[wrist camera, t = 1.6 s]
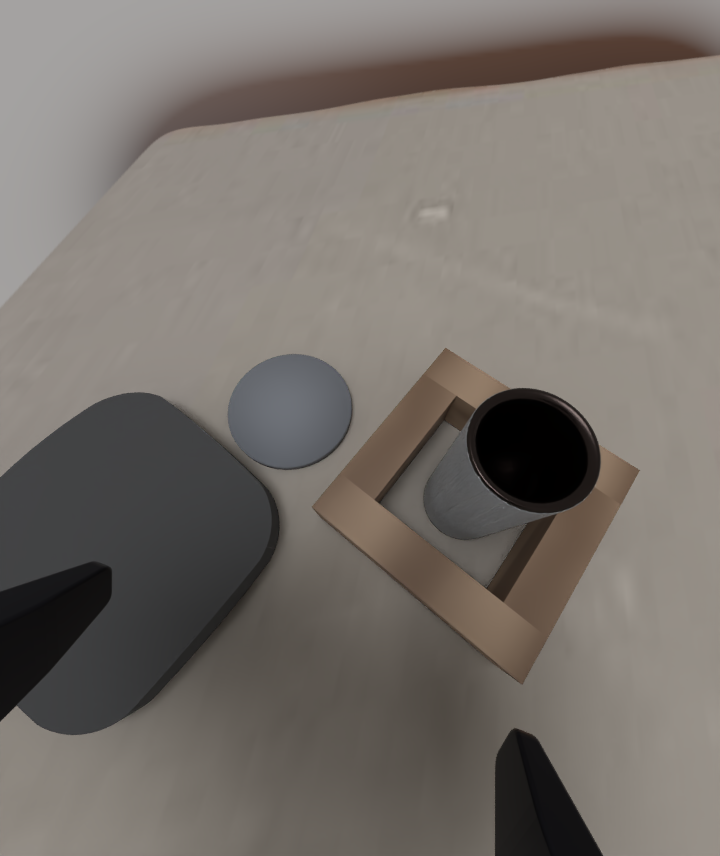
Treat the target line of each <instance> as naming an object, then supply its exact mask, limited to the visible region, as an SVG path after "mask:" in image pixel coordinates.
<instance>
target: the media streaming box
mask: <svg viewBox="0 0 720 856" xmlns="http://www.w3.org/2000/svg"><path fill="white" fill-rule="evenodd" d="M278 534H279V516H278V510H277V507H276V504H275V501H274V499H273V497H272V495H271V493H270V492H269V490H268V489H267V488H266V487H265V486H264V485H263V484H262V483H261V482H260V481H259V480H258V479H257V478H256V477H255V476H254V475H253V474H252V473H251V472H250V471H248V470H247V469H246V468H245V467H244V466H243V465H242V464H241V463H240V462H239V461H238V460H237V459H236V458H235V457H233V456H232V455H231V454H230V453H229V452H228V451H227V450H226V449H224V448H223V447H222V446H221V445H220V444H219V443H218V442H216V441H215V440H214V439H213V438H212V437H211V436H209V435H208V434H207V433H206V432H205V431H204V430H203V429H201V428H200V427H199V426H198V425H197V424H195V423H194V422H193V421H192V420H191V419H189V418H188V417H187V416H186V415H184V414H183V413H182V412H181V411H179V410H178V409H177V408H175V407H174V406H173V405H172V404H170V403H169V402H168V401H166V400H165V399H163V398H162V397H160V396H157V395H154V394H150V393H126V394H121V395H117V396H113V397H110V398H107V399H104V400H102V401H100V402H98V403H95V404H94V405H92V406H90V407H89V408H87V409H86V410H84V411H83V412H81V413H80V414H78V415H77V416H75V417H74V418H72V419H71V420H70V421H68V422H67V423H65V424H64V425H62V426H61V427H60V428H58V429H57V430H56V431H54V432H53V433H52V434H50V435H49V436H48V437H46V438H45V439H44V440H43V441H41V442H40V443H39V444H38V445H36V446H35V447H34V448H33V449H32V450H30V451H29V452H28V453H27V454H26V455H24V456H23V457H22V458H21V459H20V460H19V461H18V462H17V463H15V464H14V465H13V466H12V467H11V468H10V469H9V470H8V471H7V472H6V473H5V474H3V475H2V476H1V477H0V591H3V590H6V589H9V588H12V587H15V586H18V585H21V584H24V583H27V582H30V581H33V580H36V579H39V578H42V577H45V576H48V575H51V574H54V573H57V572H61V571H64V570H67V569H70V568H73V567H76V566H79V565H82V564H85V563H88V562H92V561H96V562H100V563H102V564H105V565H107V566H109V567H111V569H112V595H111V598H110V601H109V602H108V604H107V605H106V607H105V608H104V609H103V610H102V611H101V612H100V614H99V615H98V616H97V617H96V618H95V619H94V621H93V622H92V623H91V624H90V625H89V627H88V628H87V629H86V630H85V631H84V632H83V634H82V635H81V636H80V637H79V638H78V639H77V641H76V642H75V643H74V644H73V645H72V646H71V648H70V649H69V650H68V651H67V652H66V653H65V655H64V656H63V657H62V658H61V659H60V661H59V662H58V663H57V664H56V665H55V666H54V667H53V668H52V669H51V671H50V672H49V673H48V674H47V675H46V676H45V677H44V678H43V679H42V680H41V681H40V682H39V683H38V684H37V685H36V686H35V687H34V688H33V689H32V690H31V691H30V692H29V693H28V694H27V695H26V696H25V697H24V698H23V699H22V700H21V701H20V702H19V703H18V704H17V706H18V707H19V708H20V709H21V710H22V711H23V712H24V713H25V714H26V715H27V716H28V717H29V718H30V719H32V720H33V721H34V722H35V723H36V724H37V725H39V726H41V727H42V728H44V729H47V730H49V731H52V732H56V733H60V734H67V735H80V734H87V733H92V732H96V731H99V730H102V729H104V728H107V727H109V726H111V725H113V724H115V723H116V722H118V721H120V720H121V719H123V718H124V717H126V716H128V715H129V714H131V713H133V712H134V711H136V710H138V709H139V708H141V707H143V706H144V705H146V704H147V703H148V702H149V701H151V700H152V699H153V698H154V697H155V696H156V695H157V694H158V693H159V691H160V690H161V689H162V688H163V687H164V686H165V685H166V684H167V683H168V682H169V681H170V680H171V679H172V678H173V676H174V675H175V674H176V673H177V672H178V671H179V670H180V669H181V668H182V667H183V665H184V664H185V663H186V662H187V661H188V660H189V659H190V658H191V656H192V655H193V654H194V653H195V652H196V651H197V650H198V649H199V647H200V646H201V645H202V644H203V643H204V642H205V640H206V639H207V638H208V637H209V636H210V635H211V633H212V632H213V631H214V630H215V629H216V628H217V626H218V625H219V624H220V623H221V622H222V620H223V619H224V618H225V617H226V616H227V614H228V613H229V612H230V611H231V610H232V608H233V607H234V606H235V605H236V603H237V602H238V601H239V600H240V598H241V597H242V596H243V595H244V593H245V592H246V591H247V590H248V588H249V587H250V586H251V584H252V583H253V582H254V581H255V579H256V578H257V577H258V575H259V574H260V573H261V571H262V570H263V569H264V567H265V566H266V565H267V563H268V562H269V561H270V559H271V557H272V555H273V552H274V550H275V547H276V544H277V540H278Z"/></svg>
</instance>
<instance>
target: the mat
mask: <svg viewBox="0 0 720 856" xmlns="http://www.w3.org/2000/svg"><path fill="white" fill-rule="evenodd" d="M351 414H352V405H351V397H350V393H349V390H348V387H347V385H346V383H345V381H344V379H343V378H342V377H341V375H340V374H339V373H338V372H337V371H336V370H335V369H334V368H333V367H332V366H330V365H329V364H327V363H326V362H324V361H322V360H320V359H318V358H314V357H311V356H307V355H299V354H289V355H282V356H277V357H274V358H271V359H268V360H266V361H264V362H262V363H260V364H258V365H257V366H255V367H254V368H252V369H251V370H250V371H249V372H248V373H246V374H245V376H244V377H243V378H242V379H241V380H240V381H239V383H238V384H237V386H236V387H235V389H234V391H233V393H232V396H231V398H230V402H229V407H228V423H229V428H230V431H231V434H232V436H233V438H234V440H235V442H236V443H237V444H238V446H239V447H240V448H241V449H242V450H243V451H244V452H245V453H246V454H247V455H248V456H249V457H250V458H252V459H253V460H254V461H256V462H258V463H260V464H262V465H265V466H267V467H271V468H275V469H284V470H288V469H298V468H303V467H307V466H310V465H312V464H315V463H317V462H319V461H321V460H322V459H324V458H325V457H327V456H328V455H329V454H331V453H332V452H333V451H334V450H335V449H336V448H337V447H338V445H339V444H340V443H341V441H342V440H343V438H344V437H345V435H346V433H347V431H348V428H349V425H350V421H351Z"/></svg>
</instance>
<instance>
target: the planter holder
mask: <svg viewBox="0 0 720 856" xmlns="http://www.w3.org/2000/svg"><path fill="white" fill-rule="evenodd" d="M509 389H510V388H508V387H507V386H505V385H504V384H502V383H500V382H499V381H497V380H496V379H494V378H492V377H491V376H489V375H488V374H486V373H485V372H483V371H481V370H480V369H478V368H477V367H475V366H473V365H472V364H470V363H469V362H467V361H466V360H464V359H462V358H461V357H459V356H458V355H456V354H454V353H453V352H451V351H450V350H448V349H447V348H445V349H444V350H443V352H442V353H441V354H440V355H439V356H438V357H437V359H436V360H435V361H434V362H433V363H432V365H431V366H430V367H429V368H428V369H427V371H426V372H425V373H424V374H423V375H422V377H421V378H420V379H419V380H418V381H417V382H416V384H415V385H414V386H413V387H412V388H411V390H410V391H409V392H408V393H407V394H406V396H405V397H404V398H403V399H402V400H401V401H400V403H399V404H398V405H397V406H396V407H395V409H394V410H393V411H392V412H391V413H390V415H389V416H388V417H387V418H386V419H385V420H384V422H383V423H382V424H381V425H380V426H379V428H378V429H377V430H376V431H375V432H374V434H373V435H372V436H371V437H370V438H369V439H368V441H367V442H366V443H365V444H364V445H363V447H362V448H361V449H360V450H359V451H358V453H357V454H356V455H355V456H354V457H353V458H352V460H351V461H350V462H349V463H348V464H347V466H346V467H345V468H344V469H343V470H342V472H341V473H340V474H339V475H338V476H337V478H336V479H335V480H334V481H333V482H332V483H331V485H330V486H329V487H328V488H327V489H326V491H325V492H324V493H323V494H322V495H321V497H320V498H319V499H318V500H317V501H316V502H315V504H314V505H313V506H312V508H313V509H314V510H315V511H316V513H317V514H318V515H319V516H320V517H321V518H322V519H323V520H325V521H326V522H327V523H328V524H329V525H330V526H332V527H333V528H334V529H335V530H336V531H338V532H339V533H340V534H341V535H342V536H343V537H345V538H346V539H347V540H348V541H349V542H350V543H352V544H353V545H354V546H355V547H356V548H358V549H359V550H360V551H361V552H362V553H363V554H365V555H366V556H367V557H368V558H369V559H371V560H372V561H373V562H374V563H375V564H376V565H378V566H379V567H380V568H381V569H382V570H384V571H385V572H386V573H387V574H388V575H389V576H391V577H392V578H393V579H394V580H395V581H397V582H398V583H399V584H400V585H401V586H402V587H404V588H405V589H406V590H407V591H408V592H410V593H411V594H412V595H413V596H414V597H415V598H417V599H418V600H419V601H420V602H421V603H423V604H424V605H425V606H426V607H427V608H428V609H430V610H431V611H432V612H433V613H434V614H436V615H437V616H438V617H439V618H440V619H441V620H443V621H444V622H445V623H446V624H447V625H449V626H450V627H451V628H452V629H453V630H454V631H456V632H457V633H458V634H459V635H460V636H461V637H463V638H464V639H465V640H466V641H467V642H469V643H470V644H471V645H472V646H473V647H474V648H476V649H477V650H478V651H479V652H480V653H482V654H483V655H484V656H485V657H486V658H487V659H489V660H490V661H491V662H492V663H493V664H495V665H496V666H497V667H499V668H500V669H501V670H503V671H504V672H505V673H507V674H508V675H510V676H511V677H512V678H514V679H515V680H517V681H518V682H519V683H521V684H523V682H524V680H525V678H526V677H527V675H528V673H529V671H530V669H531V667H532V666H533V664H534V662H535V660H536V658H537V657H538V655H539V653H540V651H541V649H542V647H543V646H544V644H545V642H546V640H547V638H548V637H549V635H550V633H551V631H552V629H553V627H554V626H555V624H556V622H557V620H558V618H559V616H560V615H561V613H562V611H563V609H564V607H565V606H566V604H567V602H568V600H569V598H570V596H571V595H572V593H573V591H574V589H575V587H576V586H577V584H578V582H579V580H580V578H581V576H582V575H583V573H584V571H585V569H586V567H587V566H588V564H589V562H590V560H591V558H592V556H593V555H594V553H595V551H596V549H597V547H598V545H599V544H600V542H601V540H602V538H603V536H604V535H605V533H606V531H607V529H608V527H609V525H610V524H611V522H612V520H613V518H614V516H615V515H616V513H617V511H618V509H619V507H620V505H621V504H622V502H623V500H624V498H625V496H626V495H627V493H628V491H629V489H630V487H631V485H632V484H633V482H634V480H635V478H636V476H637V474H638V473H639V471H640V470H638V469H637V468H635V467H634V466H632V465H630V464H629V463H627V462H626V461H624V460H623V459H621V458H619V457H618V456H616V455H615V454H613V453H611V452H610V451H608V450H607V449H605V448H603V447H602V446H600V445H599V447H600V453H601V469H600V474H599V478H598V481H597V483H596V485H595V487H594V489H593V490H592V492H591V493H590V494H589V495H588V497H587V498H586V499H585V500H583V501H582V502H581V503H580V504H578V505H577V506H575V507H573V508H571V509H569V510H566V511H564V512H561V513H558V514H554V515H551V516H548V517H545V518H541V519H538V520H535V521H532V522H528V524H527V525H526V527H525V529H524V530H523V532H522V533H521V535H520V537H519V538H518V540H517V541H516V543H515V545H514V546H513V548H512V549H511V551H510V553H509V554H508V556H507V557H506V559H505V560H504V562H503V564H502V565H501V567H500V568H499V570H498V572H497V573H496V575H495V576H494V578H493V580H492V581H491V583H490V584H489V586H488V588H487V589H486V588H485V587H483V586H482V585H481V584H480V583H478V582H477V581H476V580H474V579H473V578H472V577H471V576H469V575H468V574H467V573H466V572H464V571H463V570H462V569H461V568H459V567H458V566H457V565H456V564H454V563H453V562H452V561H451V560H449V559H448V558H447V557H446V556H444V555H443V554H442V553H440V552H439V551H438V550H437V549H435V548H434V547H433V546H432V545H430V544H429V543H428V542H427V541H425V540H424V539H423V538H422V537H420V536H419V535H418V534H417V533H415V532H414V531H413V530H412V529H410V528H409V527H408V526H407V525H405V524H404V523H403V522H401V521H400V520H399V519H398V518H396V517H395V516H394V515H393V514H391V513H390V512H389V511H388V510H386V509H385V508H384V507H383V506H381V505H380V504H379V503H380V501H381V500H382V499H383V497H384V496H385V495H386V494H387V492H388V491H389V490H390V488H391V487H392V486H393V485H394V483H395V482H396V481H397V480H398V478H399V477H400V476H401V474H402V473H403V472H404V471H405V469H406V468H407V467H408V465H409V464H410V463H411V462H412V460H413V459H414V458H415V456H416V455H417V454H418V453H419V451H420V450H421V449H422V447H423V446H424V445H425V444H426V442H427V441H428V440H429V439H430V437H431V436H432V435H433V433H434V432H435V431H436V430H437V428H438V427H439V426H440V424H441V423H442V422H443V421H444V420H445V421H447V422H448V423H450V424H451V425H453V426H454V427H456V428H457V429H458V430H460V431H461V430H462V429H463V428H464V426H465V425H466V423H467V422H468V420H469V419H470V417H471V416H472V414H473V413H474V411H475V410H476V409H477V408H478V406H479V405H480V404H481V403H482V402H484V401H485V400H486V399H487V398H489V397H491V396H492V395H494V394H496V393H499V392H502V391H505V390H509Z"/></svg>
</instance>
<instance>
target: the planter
mask: <svg viewBox="0 0 720 856" xmlns="http://www.w3.org/2000/svg"><path fill="white" fill-rule="evenodd" d="M600 469H601V453H600V447H599V444H598V441H597V438H596V436H595V433H594V431H593V429H592V428H591V426H590V425H589V423H588V422H587V420H586V419H585V418H584V417H583V415H582V414H581V413H580V412H579V411H578V410H577V409H575V408H574V407H573V406H572V405H570V404H569V403H568V402H566V401H565V400H563V399H561V398H559V397H557V396H555V395H553V394H551V393H548V392H545V391H541V390H537V389H530V388H516V389H509V390H505V391H502V392H499V393H496V394H494V395H492V396H491V397H489V398H487V399H486V400H485V401H484V402H482V403H481V404H480V405H479V406H478V408H477V409H476V410H475V411H474V413H473V414H472V416H471V417H470V419H469V420H468V422H467V423H466V425H465V426H464V428H463V429H462V430H461V432H460V433H459V435H458V436H457V438H456V439H455V441H454V442H453V444H452V445H451V447H450V448H449V450H448V451H447V453H446V454H445V456H444V457H443V459H442V460H441V462H440V463H439V465H438V466H437V468H436V469H435V471H434V472H433V474H432V475H431V477H430V478H429V480H428V482H427V485H426V488H425V491H424V505H425V509H426V512H427V515H428V517H429V519H430V520H431V522H432V523H433V524H434V525H435V526H436V527H437V528H438V529H439V530H440V531H441V532H443V533H444V534H446V535H448V536H450V537H453V538H456V539H464V540H467V539H476V538H480V537H483V536H486V535H489V534H493V533H496V532H499V531H502V530H506V529H509V528H512V527H515V526H519V525H522V524H525V523H528V522H532V521H535V520H538V519H541V518H545V517H548V516H551V515H554V514H558V513H561V512H564V511H566V510H569V509H571V508H573V507H575V506H577V505H578V504H580V503H581V502H582V501H583V500H585V499H586V498H587V497H588V495H589V494H590V493H591V492H592V490H593V489H594V487H595V485H596V483H597V481H598V478H599V474H600Z"/></svg>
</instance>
